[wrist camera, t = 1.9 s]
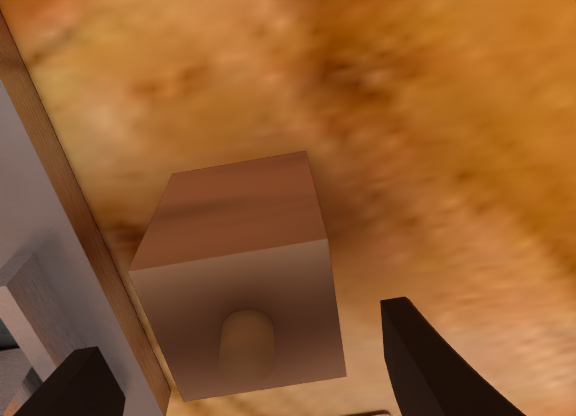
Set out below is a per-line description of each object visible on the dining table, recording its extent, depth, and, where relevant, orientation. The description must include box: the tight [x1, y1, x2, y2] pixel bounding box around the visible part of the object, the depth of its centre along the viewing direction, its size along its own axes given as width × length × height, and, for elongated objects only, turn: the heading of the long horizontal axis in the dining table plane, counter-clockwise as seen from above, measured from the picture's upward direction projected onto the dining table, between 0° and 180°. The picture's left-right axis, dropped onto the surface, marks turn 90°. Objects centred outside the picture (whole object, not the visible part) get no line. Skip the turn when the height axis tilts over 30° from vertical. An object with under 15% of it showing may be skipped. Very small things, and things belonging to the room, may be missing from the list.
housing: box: [127, 151, 347, 402], centre depth 14 cm, size 5×5×7 cm
